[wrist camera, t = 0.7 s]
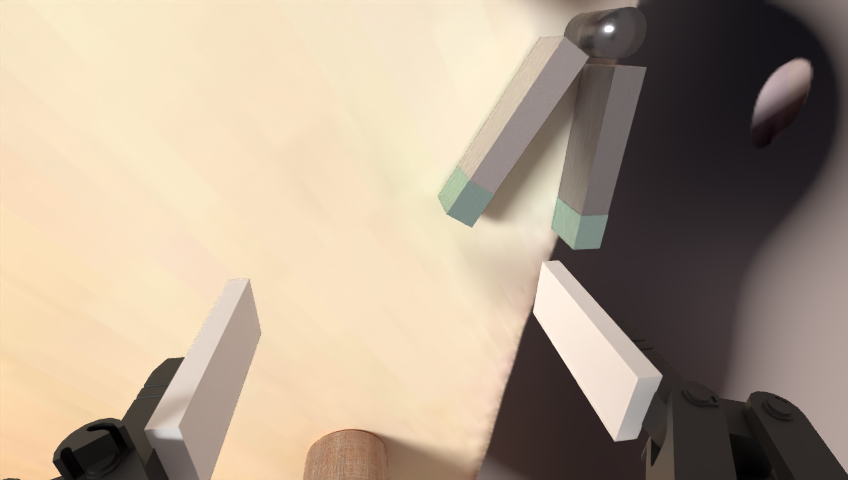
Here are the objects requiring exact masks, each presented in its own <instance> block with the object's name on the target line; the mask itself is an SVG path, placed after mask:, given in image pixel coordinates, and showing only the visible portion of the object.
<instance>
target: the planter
mask: <svg viewBox="0 0 848 480" xmlns="http://www.w3.org/2000/svg"><path fill="white" fill-rule="evenodd" d="M303 480H389V476H388V460H387V452H386V447H385V445H384V443H383V442H382V441H381V440H380V439H379V438H377V437H376V436H374V435H372V434H370V433H367V432H362V431H357V430H346V431H339V432H335V433H332V434H329V435H327V436H324V437H323V438H321V439H319V440H318V441H317V442H315V443H314V444H313V445H312V446H311V448H310V449H309V451H308V453H307V458H306V463H305V469H304V476H303Z"/></svg>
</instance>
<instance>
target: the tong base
mask: <svg viewBox="0 0 848 480" xmlns="http://www.w3.org/2000/svg"><path fill="white" fill-rule="evenodd" d="M646 27H647V25H646V19H645V17H644V15H643V13H642V12H641V11H640V10H639V9H637V8H634V7H625V8H617V9H610V10H602V11H595V12H588V13H581V14H579V15H577V16H575V17H574V18H573V19H572V20H571V21H570V22H569V23H568V25H567V27H566V29H565V33H564V36H565V37H566V38H567V39H568V40H569V41H571V42H572V43H573V44H574V45H575V46H577V47H578V48H579V49H580V50H581V51H583V52H584V53H585V54H586V55H588V56H589V57H593V58H608V59H624V58H627V57H629V56H631V55H632V54H634V52H636V51H637V50H638V48H639V47H640V46H641V44H642V42H643V40H644V38H645V34H646ZM645 71H646V67H636V66H625V65H614V64H584V65H583V71H582V76H581V81H580V86H579V91H578V96H577V101H576V106H575V111H574V117H573V122H572V127H571V132H570V137H569V142H568V147H567V152H566V157H565V163H564V168H563V173H562V178H561V183H560V188H559V193H558V197H557V202H556V207H555V213H554V218H553V223H552V229H553V230H554V231H555V232H556V233H557V234H558V235H559V236H560V237H561V238H562V239H563V240H564V241H565V242H566V243H567V244H568V245H569V246H570V247H571V248H572V249H573V250H574V249H592V248H593V249H594V248H600V245H601V242H602V238H603V234H604V230H605V226H606V222H607V219H608V212H609V208H610V204H611V200H612V196H613V193H614V189H615V185H616V181H617V178H618V174H619V170H620V166H621V162H622V159H623V155H624V151H625V147H626V144H627V140H628V136H629V132H630V128H631V124H632V121H633V117H634V113H635V109H636V106H637V102H638V98H639V94H640V90H641V87H642V83H643V79H644V75H645Z"/></svg>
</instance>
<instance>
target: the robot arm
mask: <svg viewBox="0 0 848 480" xmlns="http://www.w3.org/2000/svg"><path fill="white" fill-rule="evenodd" d="M533 313H534V314H535V316H536V318H537V319H538V321H539V322H540V324H541V326H542V327H543V329H544V330H545V332H546V333H547V335H548V337H549V338H550V340H551V341H552V343H553V345H554V346H555V347H556V349H557V351H558V352H559V354H560V356H561V357H562V359H563V360H564V362H565V364H566V365H567V367H568V368H569V370H570V371H571V373H572V374H573V376H574V378H575V379H576V381H577V382H578V384H579V386H580V387H581V389H582V390H583V392H584V394H585V395H586V397H587V398H588V400H589V401H590V403H591V405H592V406H593V408H594V409H595V411H596V412H597V414H598V416H599V417H600V419H601V420H602V422H603V424H604V425H605V427H606V428H607V430H608V431H609V433H610V434H611V436H612V437H613V439H614V441H622V440H630V439H637V437H638V434H639V432H640V429H641V427H642V426H643V427H644V429H645V430H646V431H647V433H648V434H649V435H650V438H649V440H648V442H647V445H646V447H645V449H644V451H643V454H642V456H641V459H640V460H642V461H645V458H646V456H647V461H646V480H848V474H847V473H846V472H845V470H844V469H843V467H842V466H841V465H840V463H839V462H838V461H837V459H836V458H835V456H834V455H833V454H832V452H831V451H830V449H829V448H828V447H827V445H826V444H825V443H824V441H823V440H822V438H821V437H820V436H819V434H818V433H817V431H816V430H815V429H814V427H813V426H812V425H811V423H810V422H809V420H808V419H807V418H806V416H805V415H804V414H803V413H802V412H801V411H800V409H798V407H796V406H795V405H793V404H792V403H791V402H789V401H788V400H786V399H783V398H782V397H779V396H777V395H775V394H771V393H768V392H760V391H757V392H754V393H751V395H750V396H749V398H748V400H747V402H740V401H734V400H728V399H722V398H719V397H718V396H717V395H716V394H715V393H714V392H713V391H712V390H710V389H709V388H707V387H706V386H704V385H702V384H699V383H697V382H694V381H690V380H684V379H683V378H682V377H681V376H680V375H679V374H678V373H677V372H676V370H675V369H673V367H672V366H671V365H670V364H669V363H668V362H667V361H666V360H665V359H664V358H663V357H662V356H661V355H660V354H659V353H658V352H657V351H656V350H654V347H653V346H652V345H651V344H650V343H649V342H648V341H646V339H645V338H644V337H643V336H642V335H641V334H640V333H639V332H638V331H637V330H636V329H635V328H633V327H632V326H630V325H629V324H627V323H626V322H624V321H613V320H612V319H611V318H610V317H609V316H608V315H607V313H606V312H605V311H604V310H603V309H602V308H601V307H600V306H599V305H598V303H597V302H596V301H595V300H594V299H593V298H592V297H591V296H590V295H589V293H588V292H587V291H586V290H585V289H584V288H583V287H582V286H581V285H580V283H579V282H578V281H577V280H576V279H575V278H574V277H573V276H572V275H571V273H570V272H569V271H568V270H567V269H566V268H565V267H564V266H563V265H562V263H561V262H560V261H545V262H542V267H541V272H540V278H539V283H538V289H537V294H536V299H535V305H534V310H533ZM260 336H261V329H260V324H259V320H258V315H257V311H256V306H255V302H254V297H253V293H252V288H251V284H250V279H232V280H228V282H227V284H226V286H225V287H224V289H223V291H222V293H221V294H220V296H219V298H218V300H217V301H216V303H215V305H214V307H213V309H212V310H211V312H210V314H209V316H208V317H207V319H206V321H205V323H204V324H203V326H202V328H201V330H200V332H199V333H198V335H197V337H196V339H195V340H194V342H193V344H192V346H191V347H190V349H189V351H188V353H187V355H186V356H185V357H181V358H169V359H167V360H165V361H164V362H163V363H162V364H161V365H160V366H158V367H157V368H156V369H155V370H154V371H153V372H152V373H151V375H150V377H149V378H148V380H147V381H146V383H145V384H144V388H142V389H141V391H140V392H139V394H138V395H137V399H136V400H134V402H133V403H132V405H131V406H130V408H129V409H128V411H127V413H126V414H125V416H124V417H123V419H122V420H121V421H120V420H119V419H114V418H106V419H99V420H96V421H94V422H91V423H88V424H86V425H84V426H82V427H81V428H79V429H77V430H76V431H74V432H72V433H71V434H70V435H69V436H68V437H67V438H66V439H65V440H63V441H62V442H61V444H60V445H59V447H58V448H57V449H56V451H55V452H54V457H53V463H54V465H55V466H56V468H57V469H58V471H59V472H60V474H61V475H62V476H60V477H57V478H54V479H51V480H210V479H211V476H212V473H213V470H214V467H215V465H216V462H217V459H218V456H219V453H220V450H221V447H222V445H223V442H224V439H225V436H226V433H227V430H228V427H229V424H230V422H231V419H232V416H233V413H234V410H235V407H236V404H237V402H238V399H239V396H240V393H241V390H242V387H243V384H244V381H245V379H246V376H247V373H248V370H249V367H250V364H251V361H252V359H253V356H254V353H255V350H256V347H257V344H258V341H259V338H260ZM4 480H20V479H13V478H8V479H4Z"/></svg>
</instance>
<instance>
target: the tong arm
mask: <svg viewBox="0 0 848 480" xmlns="http://www.w3.org/2000/svg"><path fill="white" fill-rule="evenodd" d="M588 58H589V56H588V55H586V54H585V53H584V52H583V51H581V50H580V49H579V48H578V47H577V46H575V45H574V44H573V43H572V42H571V41H569V40H568V39H567V38H566V37H565V36H558V37H540V38H539V39H538V41H537V42H536V44H535V46H534V47H533V49H532V50H531V52H530V53H529V55H528V57H527V58H526V60H525V61H524V63H523V64H522V66H521V68H520V69H519V71H518V72H517V74H516V75H515V77H514V78H513V80H512V82H511V83H510V85H509V86H508V88H507V89H506V91H505V93H504V94H503V96H502V97H501V99H500V100H499V102H498V104H497V105H496V107H495V108H494V110H493V111H492V113H491V114H490V116H489V118H488V119H487V121H486V122H485V124H484V125H483V127H482V129H481V130H480V132H479V133H478V135H477V136H476V138H475V140H474V141H473V143H472V144H471V146H470V147H469V149H468V150H467V152H466V154H465V155H464V157H463V158H462V160H461V161H460V163H459V165H457V167H456V169H455V170H454V172H453V173H452V175H451V176H450V178H449V180H448V181H447V183H446V184H445V186H444V187H443V189H442V191H441V192H440V194H439V195H438V198H439V200H440V202H441V204H442V206H443V208H444V210H445V212H446V214H447V215H449V216H451V217H453V218H455V219H457V220H459V221H460V222H462V223H464V224H466V225H468V226H470V227H473V225H474V224H475V222H476V221H477V219H478V218H479V217H480V215H481V214H482V212H483V211H484V209H485V208H486V207H487V205H488V204H489V202H490V201H491V199H492V198H493V196H494V194H495V192H496V191H497V189H498V188H499V186H500V185H501V183H502V182H503V181H504V179H505V178H506V176H507V175H508V173H509V172H510V170H511V169H512V168H513V166H514V165H515V163H516V162H517V160H518V159H519V158H520V156H521V155H522V153H523V152H524V150H525V149H526V147H527V146H528V145H529V143H530V142H531V140H532V139H533V137H534V136H535V134H536V133H537V132H538V130H539V129H540V127H541V126H542V124H543V123H544V122H545V120H546V119H547V117H548V116H549V114H550V113H551V111H552V110H553V109H554V107H555V106H556V104H557V103H558V101H559V100H560V98H561V97H562V96H563V94H564V93H565V91H566V90H567V88H568V87H569V86H570V84H571V83H572V81H573V80H574V78H575V77H576V75H577V74H578V73H579V71H580V70H581V68H582V67H583V65H584V64H585V62H586V61H587V60H588Z"/></svg>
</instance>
